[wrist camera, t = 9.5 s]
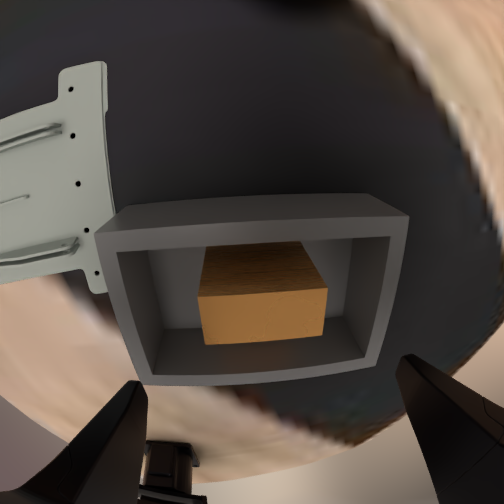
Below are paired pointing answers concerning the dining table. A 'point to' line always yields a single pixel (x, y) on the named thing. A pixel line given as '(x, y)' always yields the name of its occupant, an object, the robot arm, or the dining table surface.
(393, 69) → the dining table surface
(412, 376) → the robot arm
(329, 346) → the open box
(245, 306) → the wood grain brick
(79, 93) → the metal bracket
